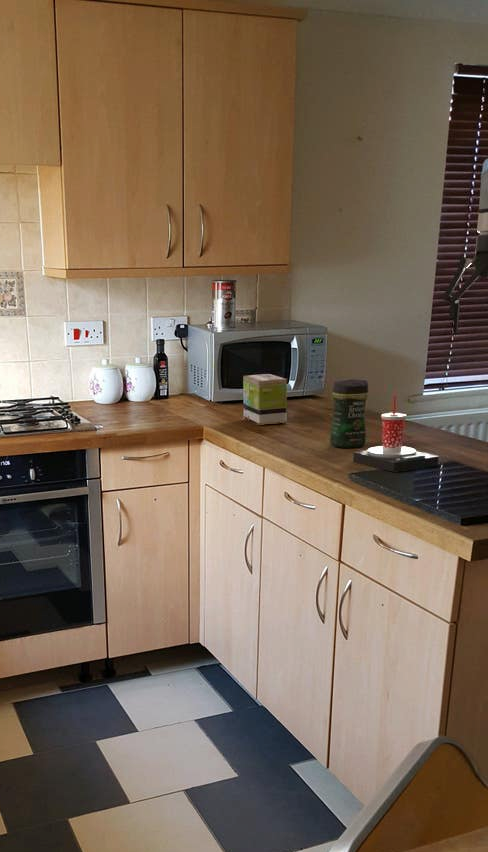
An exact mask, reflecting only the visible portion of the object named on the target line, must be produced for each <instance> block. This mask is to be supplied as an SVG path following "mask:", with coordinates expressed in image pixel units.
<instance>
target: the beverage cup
mask: <svg viewBox="0 0 488 852" xmlns="http://www.w3.org/2000/svg"><path fill="white" fill-rule="evenodd" d="M396 401H397V394H393V406H392V412H387V413H385V412H384V413H382V414H381V415H380V417H381V419H382V421H381V422H382V423H381V427H382V428H381V430H382V431H381V432H382V437H381V438H382V439H381V440H382V446H383V451H387V452H398V451H401V447H402V446H403V440H404V439H403V438H404V432H405V431H404V430H405V424H406V423H405V422H406V419H407V414H406V413H400V412H396Z"/></svg>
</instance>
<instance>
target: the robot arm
mask: <svg viewBox="0 0 488 852" xmlns="http://www.w3.org/2000/svg"><path fill="white" fill-rule="evenodd" d="M476 231H477V233H479V235H477V236H476V241H475V253H474V257H473V258H469V257H468V258H467V257H461V258H460V260H459V264H458V268H457V270H456V272H455V273H454V275H453V276H452V279H451V281H450V282H449V284H448V286H447V288H446V290H445V291H444V293H443V295H442V300H443V301H446V302H448V303H449V313H448V314H449V315H448V316H449V318H453V324H452V325H453V326H452V333H455V334H456V333H458V332H459V320H460V306H461V305H460V304H461V303H460V302H458V301H459V299H460V298H461V297H462V296H463V295H464V294H465V292H466V291H467V290H468V289H469V288H470V287H471V286H472V285H473V284H474V282H476V280H478V279H479V278H480V277H481V278H483V279H486V278H488V158H486V159H485V160H484V162H483V163H482V170H481V175H480V193H479V205H478V216H477V228H476ZM470 265H472V266H473V268H474V269H475V271H474V272H473V273H472V275H471V276H469V278H468V279H467V280H466V281H465V283H463V284H462V286H460V288H459V289H458V290H457V291H456V292H455V294H454V295H453V296H452V293H453V291H454V290H455V288H456V286H457V285H458V282H459V281H460V279H461V277H462V276H463V273H464V272H465V270H466V269H467V268H469V267H470Z"/></svg>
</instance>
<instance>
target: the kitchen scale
mask: <svg viewBox="0 0 488 852" xmlns="http://www.w3.org/2000/svg"><path fill="white" fill-rule="evenodd" d="M352 459H353V461H352V462H353V463H357V464H361V465H364V466H367V467H370V468H375V469H377V470H382V471H385V470H389V471H393V472H396V471H403V472H405V471H404V470H410V471H415V470H414V469H416V470H420V469H419V468H423V469H425V468H424V467H429V468H432V467H431V466H436V467H438V466H439V459H440V456H439V455H436V454H431V453H427V452H423V451H417V450H416V449H415V448H412V447H409V446H403V445H402V447H401V451H398V452H387V451H383V445H377V446H372V447H369V448H368V449H367V450H360V451H354V452H353V458H352ZM437 465H438V466H437ZM389 471H388V472H389ZM393 472H392V473H393Z"/></svg>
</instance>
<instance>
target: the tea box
mask: <svg viewBox="0 0 488 852" xmlns="http://www.w3.org/2000/svg"><path fill="white" fill-rule="evenodd" d="M242 379H243V380H242V381H243V382H242V384H243V386H242V387H243V391H242V392H243V417H244V416H245V417H247V418H249V419H251V420H253V421H255V422H257V423H269V422H281V421H286V422H287V409H288V407H287V406H288V404H287V400H288V399H287V396H288V393H287V389H288V380H287V378H284V377H281V376H278V375H274V374H271V373H263V374H262V373H261V374H252V375H250V374H249V375H243V377H242Z"/></svg>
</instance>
